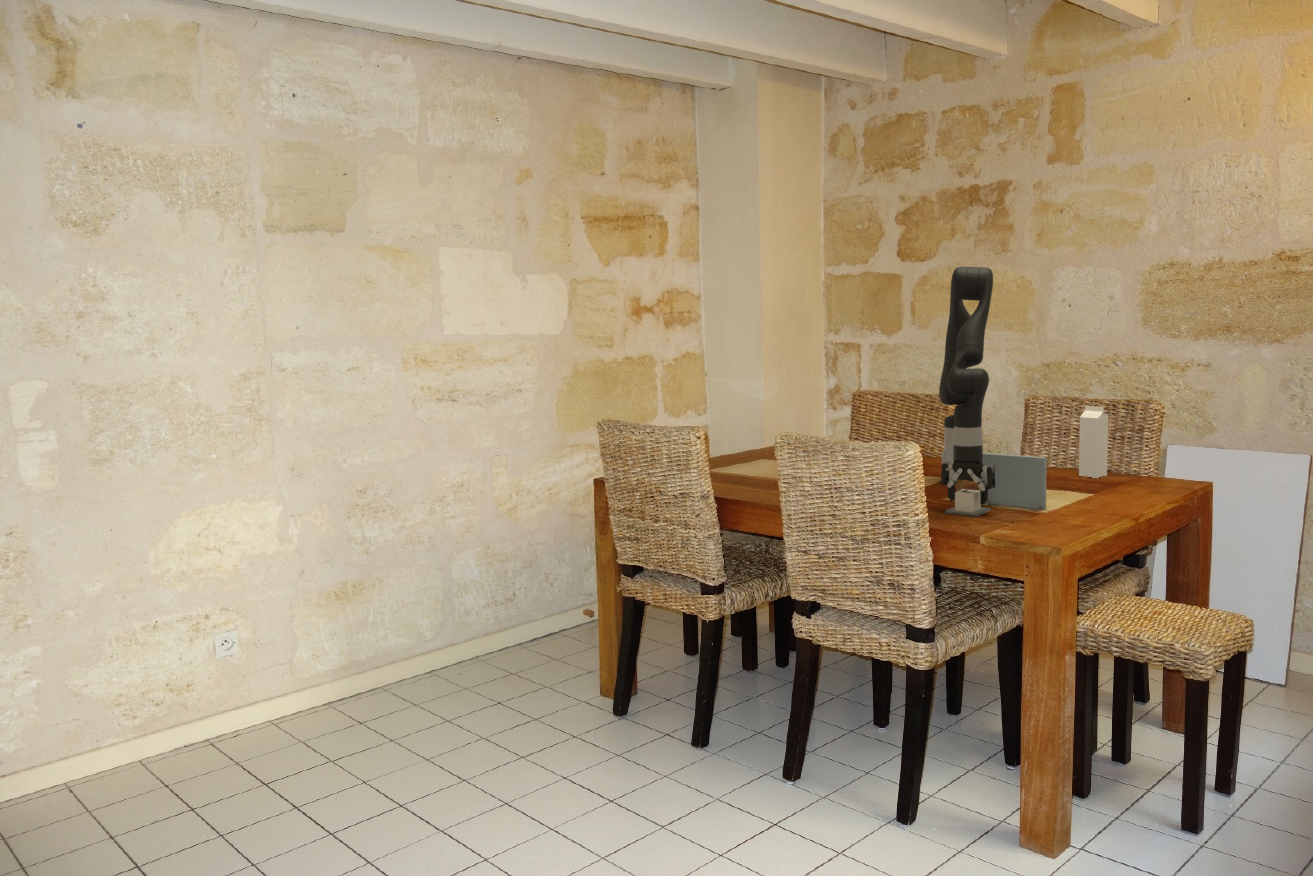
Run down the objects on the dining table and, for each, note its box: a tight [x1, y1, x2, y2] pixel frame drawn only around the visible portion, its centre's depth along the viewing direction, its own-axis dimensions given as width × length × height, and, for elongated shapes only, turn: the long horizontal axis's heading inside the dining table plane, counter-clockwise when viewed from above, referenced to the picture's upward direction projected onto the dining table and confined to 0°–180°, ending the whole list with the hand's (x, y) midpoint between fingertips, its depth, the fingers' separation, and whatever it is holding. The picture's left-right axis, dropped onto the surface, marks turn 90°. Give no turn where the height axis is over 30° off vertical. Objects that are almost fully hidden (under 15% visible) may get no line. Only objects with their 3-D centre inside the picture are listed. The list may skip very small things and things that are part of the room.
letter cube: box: [954, 489, 982, 512], centre depth 268 cm, size 5×5×5 cm
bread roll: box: [955, 479, 979, 491], centre depth 289 cm, size 10×15×8 cm, turn 145°
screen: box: [979, 452, 1048, 512], centre depth 272 cm, size 18×6×14 cm, turn 49°
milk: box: [1078, 405, 1109, 479], centre depth 308 cm, size 6×6×22 cm
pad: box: [944, 506, 992, 518], centre depth 268 cm, size 9×9×1 cm
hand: (967, 502), depth 268 cm, fingers open, 8 cm apart
